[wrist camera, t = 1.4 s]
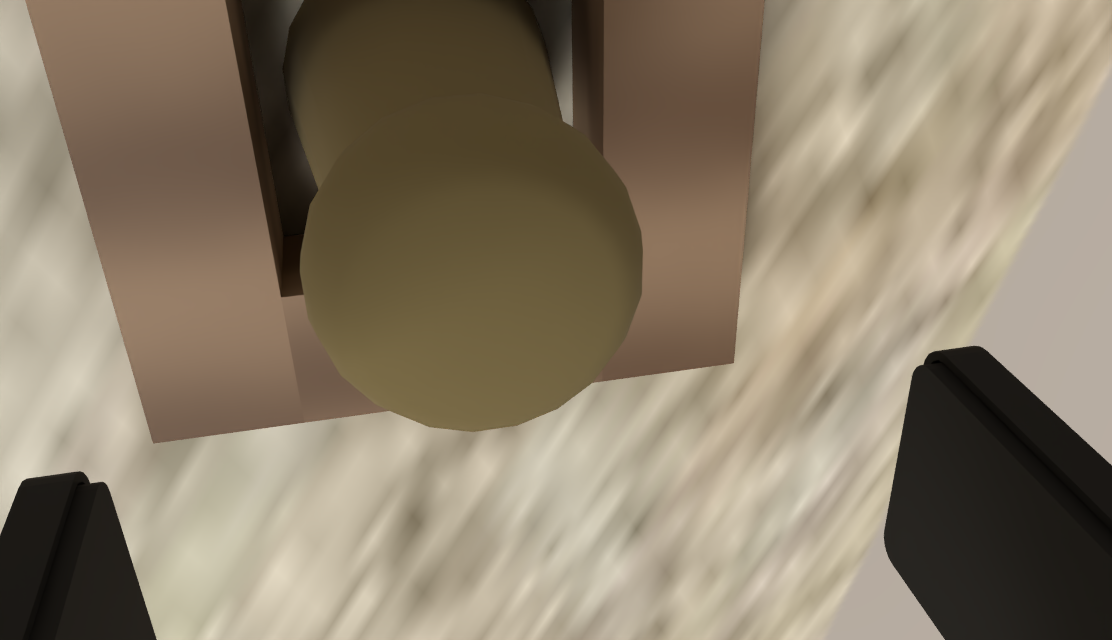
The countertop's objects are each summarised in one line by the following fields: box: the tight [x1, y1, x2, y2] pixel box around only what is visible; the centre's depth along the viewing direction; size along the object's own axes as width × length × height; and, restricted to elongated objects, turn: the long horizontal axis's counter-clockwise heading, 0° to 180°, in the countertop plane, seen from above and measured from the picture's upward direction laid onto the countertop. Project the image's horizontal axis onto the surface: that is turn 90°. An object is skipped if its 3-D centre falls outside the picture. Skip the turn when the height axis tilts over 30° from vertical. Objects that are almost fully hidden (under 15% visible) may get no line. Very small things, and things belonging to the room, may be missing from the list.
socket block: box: [25, 0, 765, 443], centre depth 22 cm, size 14×14×3 cm
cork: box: [282, 0, 643, 432], centre depth 19 cm, size 6×6×11 cm
